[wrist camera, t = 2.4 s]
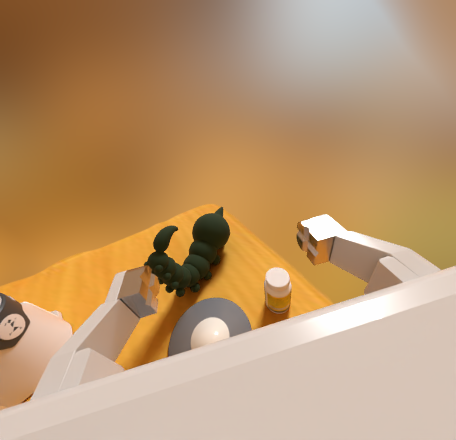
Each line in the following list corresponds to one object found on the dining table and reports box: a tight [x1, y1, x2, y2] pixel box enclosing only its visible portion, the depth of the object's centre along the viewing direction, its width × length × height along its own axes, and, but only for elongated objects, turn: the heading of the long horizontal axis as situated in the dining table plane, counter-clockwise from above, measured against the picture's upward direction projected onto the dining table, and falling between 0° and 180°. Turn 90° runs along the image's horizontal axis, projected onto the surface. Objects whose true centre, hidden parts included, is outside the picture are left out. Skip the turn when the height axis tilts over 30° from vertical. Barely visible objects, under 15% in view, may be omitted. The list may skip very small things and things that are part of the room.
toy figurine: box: [144, 207, 230, 297], centre depth 42 cm, size 9×19×25 cm
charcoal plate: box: [168, 298, 252, 357], centre depth 32 cm, size 15×15×1 cm
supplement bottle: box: [264, 268, 291, 314], centre depth 33 cm, size 5×5×8 cm
